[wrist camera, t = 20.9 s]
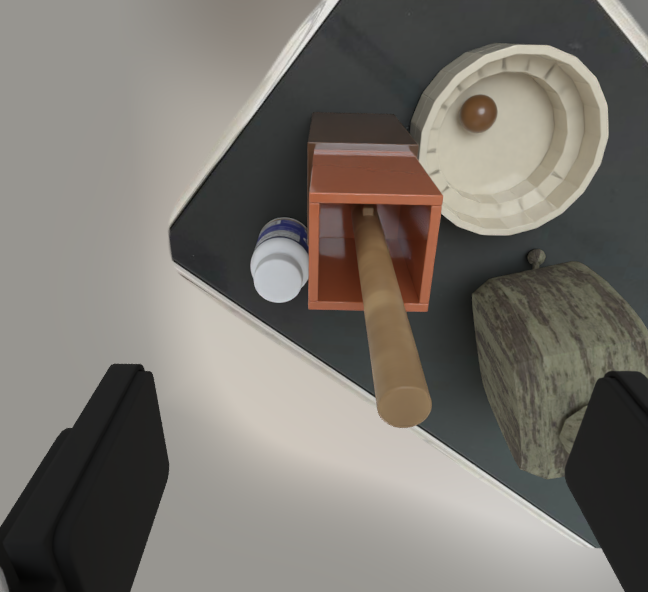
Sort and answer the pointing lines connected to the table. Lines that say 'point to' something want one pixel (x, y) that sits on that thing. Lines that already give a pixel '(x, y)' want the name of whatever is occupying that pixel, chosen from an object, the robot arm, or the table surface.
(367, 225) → the stirring stick
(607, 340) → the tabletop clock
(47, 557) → the robot arm
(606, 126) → the bowl
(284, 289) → the pill bottle
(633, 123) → the table surface
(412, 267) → the brown boxy piece
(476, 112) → the brown ball
